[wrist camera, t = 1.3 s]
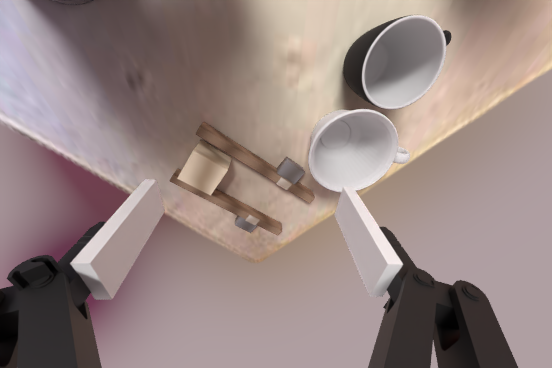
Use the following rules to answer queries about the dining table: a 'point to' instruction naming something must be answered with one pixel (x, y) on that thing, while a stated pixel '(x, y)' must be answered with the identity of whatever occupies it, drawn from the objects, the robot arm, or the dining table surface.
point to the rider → (205, 167)
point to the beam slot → (281, 176)
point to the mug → (397, 61)
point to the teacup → (353, 149)
